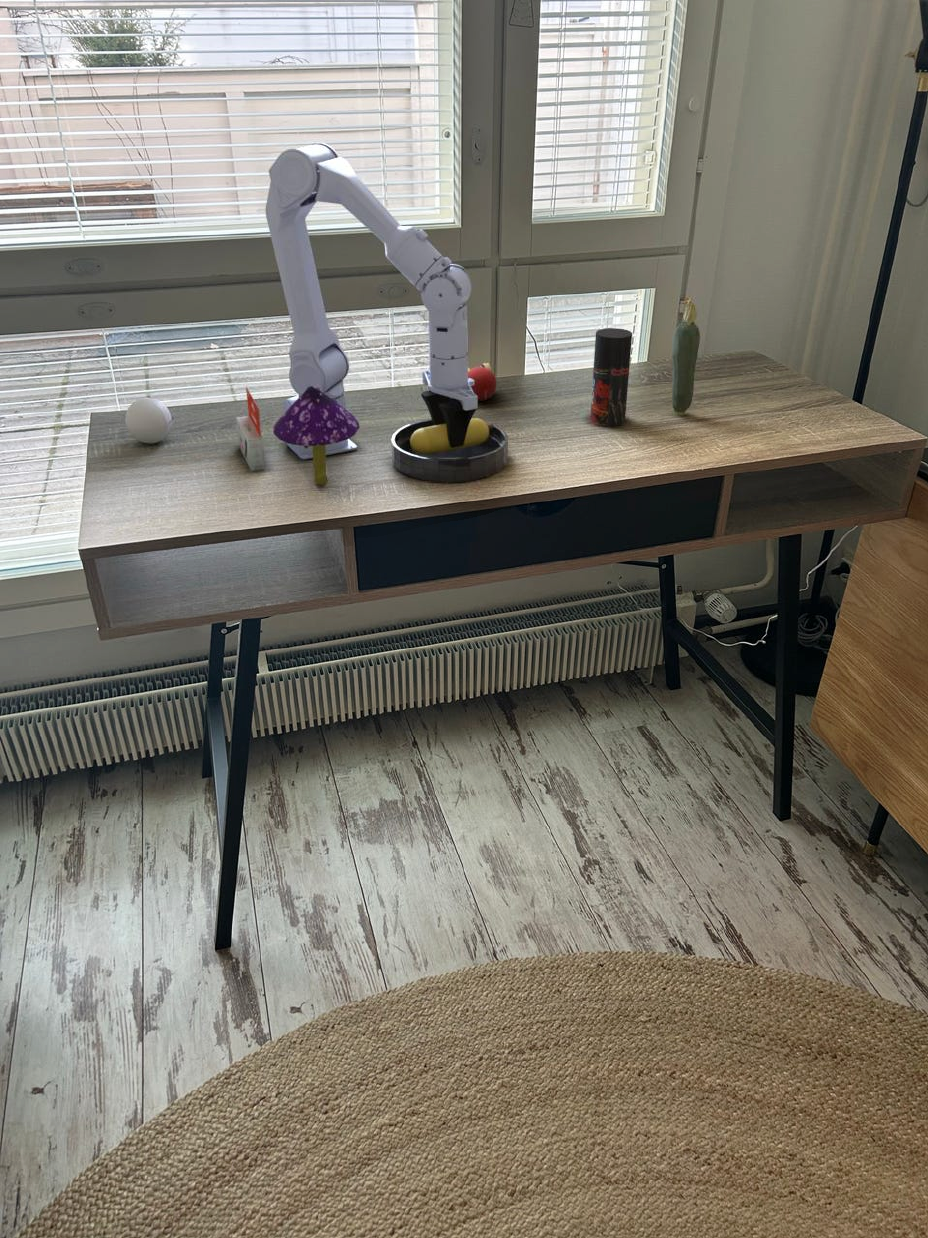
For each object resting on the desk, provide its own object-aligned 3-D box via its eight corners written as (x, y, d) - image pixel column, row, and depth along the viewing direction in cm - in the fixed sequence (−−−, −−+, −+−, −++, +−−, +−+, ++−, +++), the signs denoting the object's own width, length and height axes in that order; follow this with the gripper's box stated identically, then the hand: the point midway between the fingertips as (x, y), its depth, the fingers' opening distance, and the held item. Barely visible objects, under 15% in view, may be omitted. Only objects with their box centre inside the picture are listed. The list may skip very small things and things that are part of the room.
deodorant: (631, 423, 163) (639, 335, 156) (600, 428, 162) (606, 339, 154) (614, 412, 168) (620, 326, 160) (584, 417, 166) (589, 330, 158)
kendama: (436, 384, 186) (460, 401, 170) (440, 351, 184) (465, 365, 168) (474, 388, 188) (501, 405, 172) (478, 355, 186) (506, 369, 170)
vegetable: (692, 420, 165) (707, 301, 154) (667, 420, 165) (680, 301, 154) (687, 411, 168) (701, 294, 158) (663, 411, 168) (675, 295, 158)
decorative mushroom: (304, 509, 135) (293, 407, 127) (265, 481, 144) (252, 383, 136) (379, 488, 141) (373, 388, 134) (337, 461, 150) (329, 367, 142)
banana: (417, 461, 145) (416, 435, 143) (406, 452, 148) (405, 426, 146) (498, 445, 151) (499, 419, 148) (485, 436, 154) (486, 411, 151)
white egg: (174, 448, 155) (166, 404, 151) (127, 451, 154) (118, 407, 150) (179, 427, 164) (172, 385, 160) (134, 429, 163) (126, 387, 159)
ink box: (251, 472, 147) (243, 411, 142) (239, 446, 156) (231, 388, 151) (267, 469, 147) (259, 409, 142) (254, 444, 156) (246, 386, 151)
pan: (423, 492, 140) (422, 468, 138) (374, 452, 153) (373, 429, 151) (528, 469, 147) (529, 446, 145) (473, 432, 160) (473, 410, 158)
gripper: (496, 362, 137) (495, 451, 144) (450, 338, 148) (451, 422, 155) (452, 369, 135) (453, 460, 142) (409, 344, 145) (412, 429, 153)
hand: (449, 441), depth 148 cm, fingers closed on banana, 4 cm apart
